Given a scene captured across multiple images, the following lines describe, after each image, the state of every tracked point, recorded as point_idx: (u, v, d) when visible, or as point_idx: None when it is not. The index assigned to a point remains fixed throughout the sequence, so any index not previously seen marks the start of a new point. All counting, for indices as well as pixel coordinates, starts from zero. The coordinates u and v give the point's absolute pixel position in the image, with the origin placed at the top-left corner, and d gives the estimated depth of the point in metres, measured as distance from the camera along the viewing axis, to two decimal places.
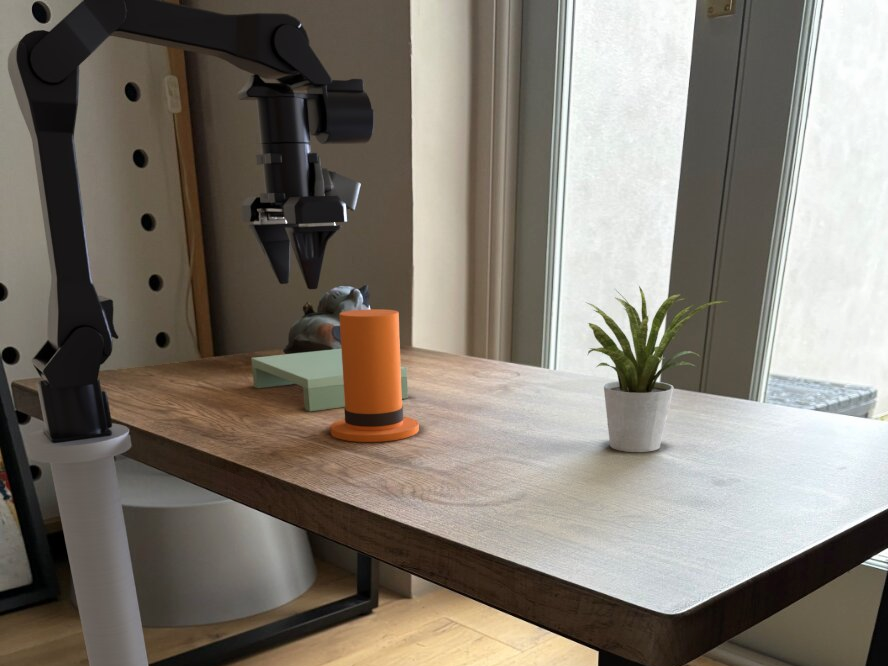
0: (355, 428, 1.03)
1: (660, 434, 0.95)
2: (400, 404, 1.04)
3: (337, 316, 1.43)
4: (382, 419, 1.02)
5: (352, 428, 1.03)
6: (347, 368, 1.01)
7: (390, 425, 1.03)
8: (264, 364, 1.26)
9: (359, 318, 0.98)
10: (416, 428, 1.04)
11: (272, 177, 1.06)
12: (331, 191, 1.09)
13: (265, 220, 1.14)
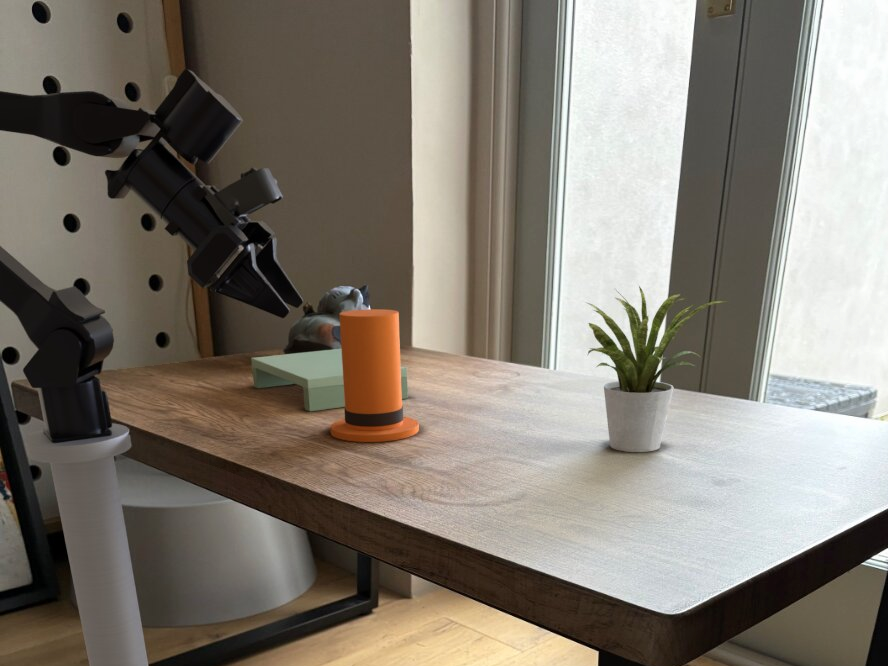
0: (355, 428, 1.03)
1: (660, 434, 0.95)
2: (400, 404, 1.04)
3: (337, 316, 1.43)
4: (382, 419, 1.02)
5: (352, 428, 1.03)
6: (347, 368, 1.01)
7: (390, 425, 1.03)
8: (264, 364, 1.26)
9: (359, 318, 0.98)
10: (416, 428, 1.04)
11: (187, 243, 0.97)
12: (239, 205, 0.94)
13: None
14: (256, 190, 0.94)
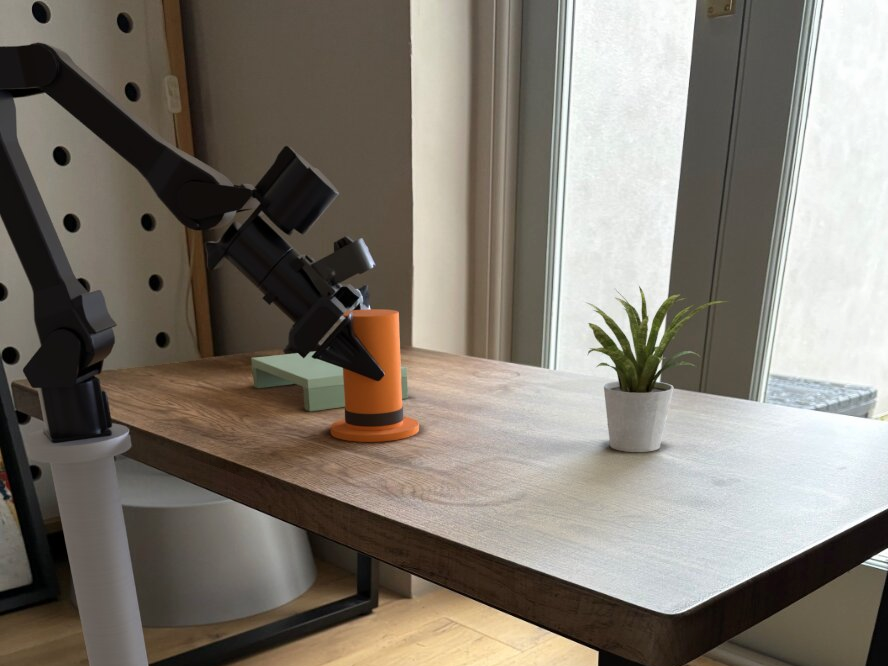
0: (355, 428, 1.03)
1: (660, 434, 0.95)
2: (400, 404, 1.04)
3: None
4: (382, 419, 1.02)
5: (352, 428, 1.03)
6: None
7: (390, 425, 1.03)
8: (264, 364, 1.26)
9: (359, 318, 0.98)
10: (416, 428, 1.04)
11: (283, 311, 0.99)
12: (336, 275, 0.97)
13: None
14: (352, 261, 0.96)
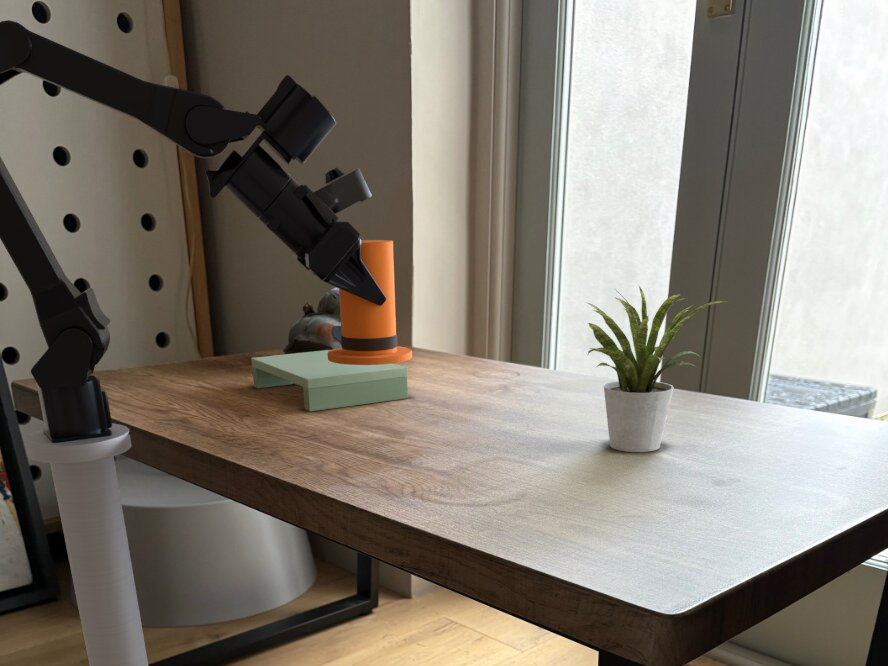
0: (356, 353, 1.07)
1: (660, 434, 0.95)
2: (395, 330, 1.09)
3: (337, 316, 1.43)
4: (383, 343, 1.07)
5: (353, 354, 1.08)
6: (348, 294, 1.05)
7: (389, 349, 1.08)
8: (264, 364, 1.26)
9: (362, 244, 1.02)
10: (411, 353, 1.10)
11: (285, 239, 1.02)
12: (338, 203, 1.01)
13: None
14: (354, 188, 1.01)
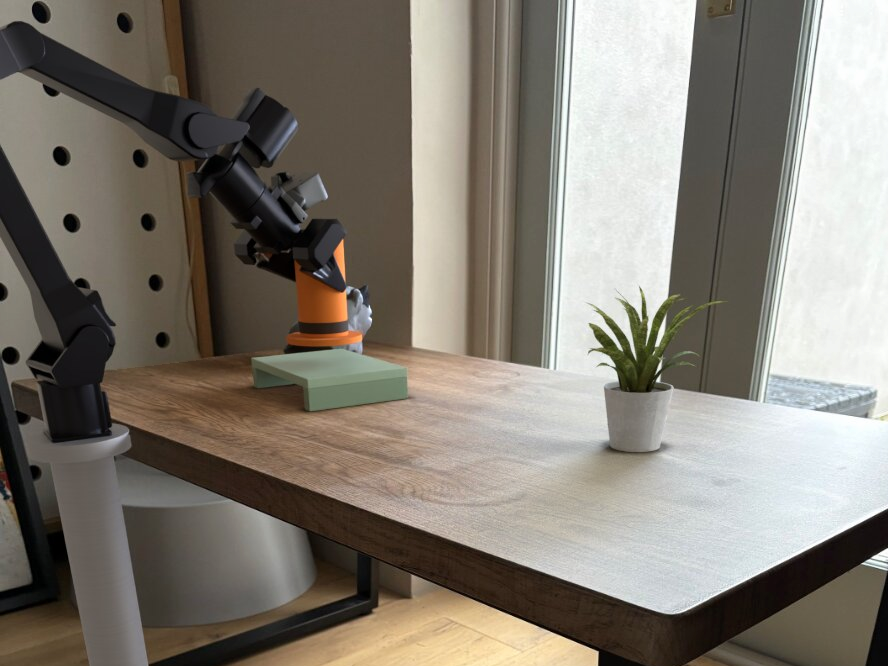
0: (323, 336, 1.21)
1: (660, 434, 0.95)
2: None
3: None
4: (344, 326, 1.22)
5: (319, 337, 1.21)
6: (314, 284, 1.18)
7: (347, 331, 1.23)
8: (264, 364, 1.26)
9: None
10: None
11: (261, 235, 1.12)
12: (305, 202, 1.14)
13: (269, 254, 1.20)
14: (317, 190, 1.14)
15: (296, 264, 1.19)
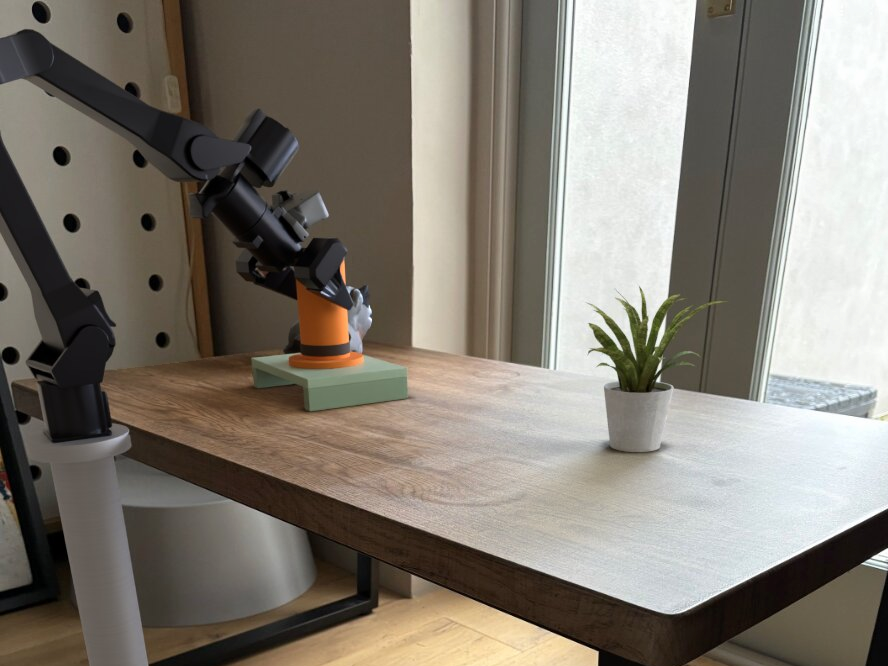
0: (325, 359, 1.22)
1: (660, 434, 0.95)
2: None
3: None
4: (345, 348, 1.23)
5: (321, 359, 1.22)
6: (316, 307, 1.19)
7: (348, 353, 1.24)
8: (264, 364, 1.26)
9: None
10: None
11: (263, 254, 1.13)
12: (306, 221, 1.15)
13: (265, 271, 1.21)
14: (318, 208, 1.15)
15: (298, 287, 1.20)
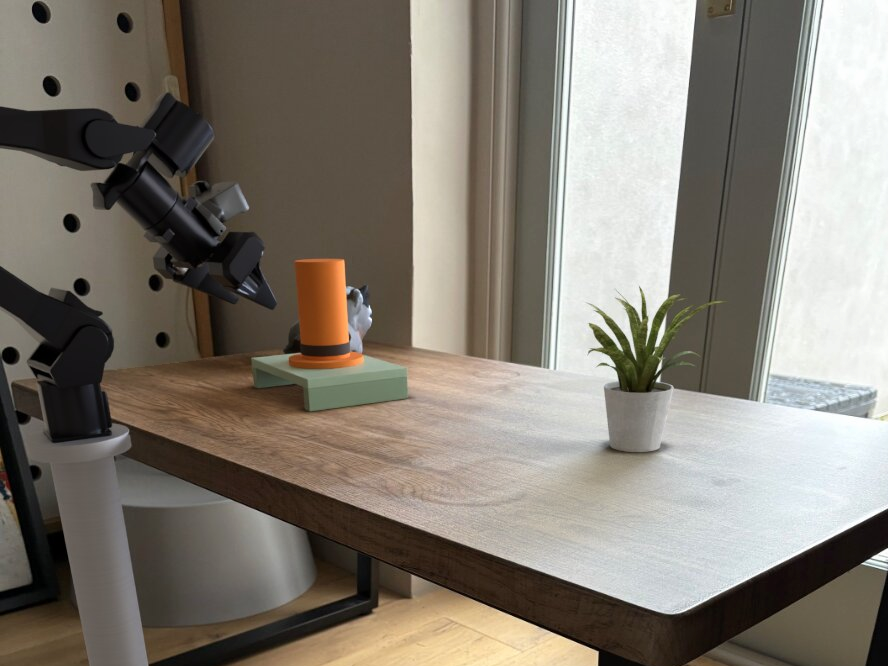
0: (325, 359, 1.22)
1: (660, 434, 0.95)
2: None
3: None
4: (345, 348, 1.23)
5: (321, 359, 1.22)
6: (316, 307, 1.19)
7: (348, 353, 1.24)
8: (264, 364, 1.26)
9: (328, 263, 1.18)
10: None
11: (175, 249, 1.06)
12: (223, 214, 1.07)
13: (184, 268, 1.14)
14: (236, 200, 1.08)
15: (298, 287, 1.20)
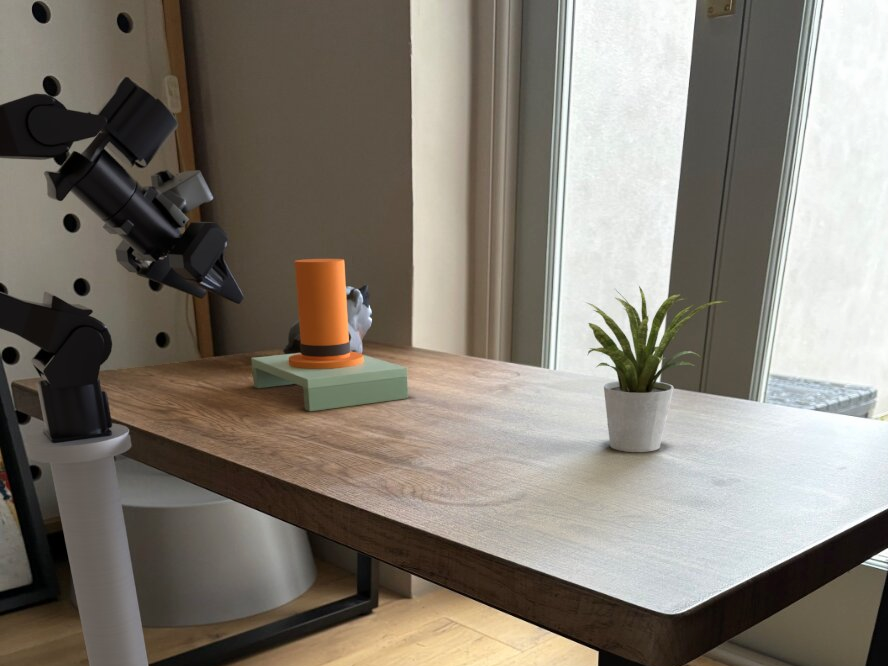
0: (325, 359, 1.22)
1: (660, 434, 0.95)
2: None
3: None
4: (345, 348, 1.23)
5: (321, 359, 1.22)
6: (316, 307, 1.19)
7: (348, 353, 1.24)
8: (264, 364, 1.26)
9: (328, 263, 1.18)
10: None
11: (136, 241, 1.02)
12: (186, 204, 1.03)
13: (148, 261, 1.10)
14: (199, 190, 1.04)
15: (298, 287, 1.20)
